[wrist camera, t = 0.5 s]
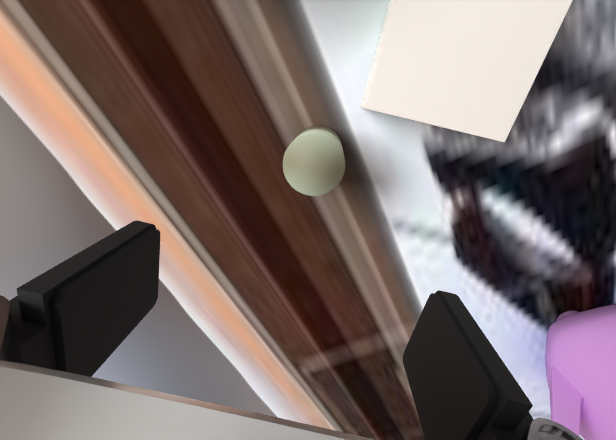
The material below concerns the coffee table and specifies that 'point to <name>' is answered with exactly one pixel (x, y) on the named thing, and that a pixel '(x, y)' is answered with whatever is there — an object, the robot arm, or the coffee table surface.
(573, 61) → the coffee table surface
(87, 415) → the robot arm
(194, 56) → the coffee table surface
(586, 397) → the teapot
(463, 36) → the base
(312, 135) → the green domed cylinder
